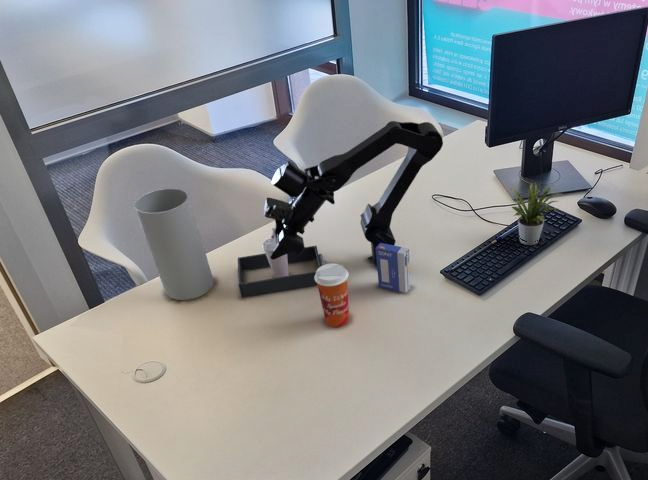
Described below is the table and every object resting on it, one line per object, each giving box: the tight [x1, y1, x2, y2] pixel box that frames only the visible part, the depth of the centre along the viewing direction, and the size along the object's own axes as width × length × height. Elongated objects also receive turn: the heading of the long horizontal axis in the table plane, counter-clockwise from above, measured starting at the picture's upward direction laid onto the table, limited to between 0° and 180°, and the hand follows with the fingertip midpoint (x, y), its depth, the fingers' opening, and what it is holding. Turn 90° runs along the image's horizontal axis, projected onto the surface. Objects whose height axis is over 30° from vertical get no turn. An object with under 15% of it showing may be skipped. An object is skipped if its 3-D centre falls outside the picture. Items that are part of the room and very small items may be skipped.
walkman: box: [376, 243, 412, 294], centre depth 153 cm, size 8×3×12 cm, turn 66°
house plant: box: [510, 182, 562, 246], centre depth 166 cm, size 14×14×16 cm
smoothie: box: [261, 227, 290, 278], centre depth 158 cm, size 6×6×14 cm
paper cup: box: [314, 263, 350, 328], centre depth 144 cm, size 8×8×14 cm
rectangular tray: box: [237, 245, 326, 299], centre depth 162 cm, size 22×13×4 cm, turn 103°
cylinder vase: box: [133, 187, 215, 301], centre depth 153 cm, size 12×12×25 cm
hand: (270, 251), depth 158 cm, fingers closed on smoothie, 6 cm apart
